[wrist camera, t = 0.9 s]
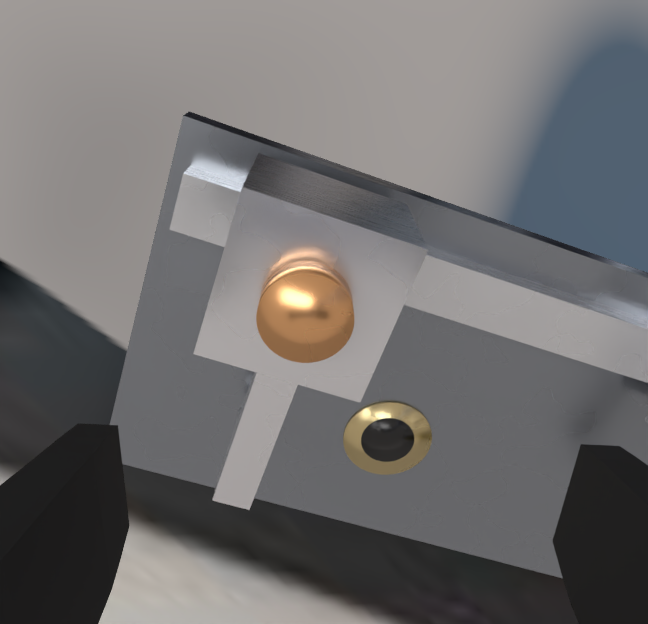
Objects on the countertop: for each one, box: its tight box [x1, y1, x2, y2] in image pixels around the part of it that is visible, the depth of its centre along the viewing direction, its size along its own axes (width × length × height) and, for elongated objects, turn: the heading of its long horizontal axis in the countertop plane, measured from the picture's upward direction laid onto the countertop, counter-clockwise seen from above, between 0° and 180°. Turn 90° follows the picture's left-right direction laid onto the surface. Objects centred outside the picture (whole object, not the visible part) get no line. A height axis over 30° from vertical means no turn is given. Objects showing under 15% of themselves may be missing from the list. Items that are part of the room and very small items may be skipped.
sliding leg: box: [193, 153, 428, 510], centre depth 15 cm, size 4×8×5 cm, turn 161°
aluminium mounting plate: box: [110, 112, 648, 578], centre depth 18 cm, size 20×12×6 cm, turn 71°
